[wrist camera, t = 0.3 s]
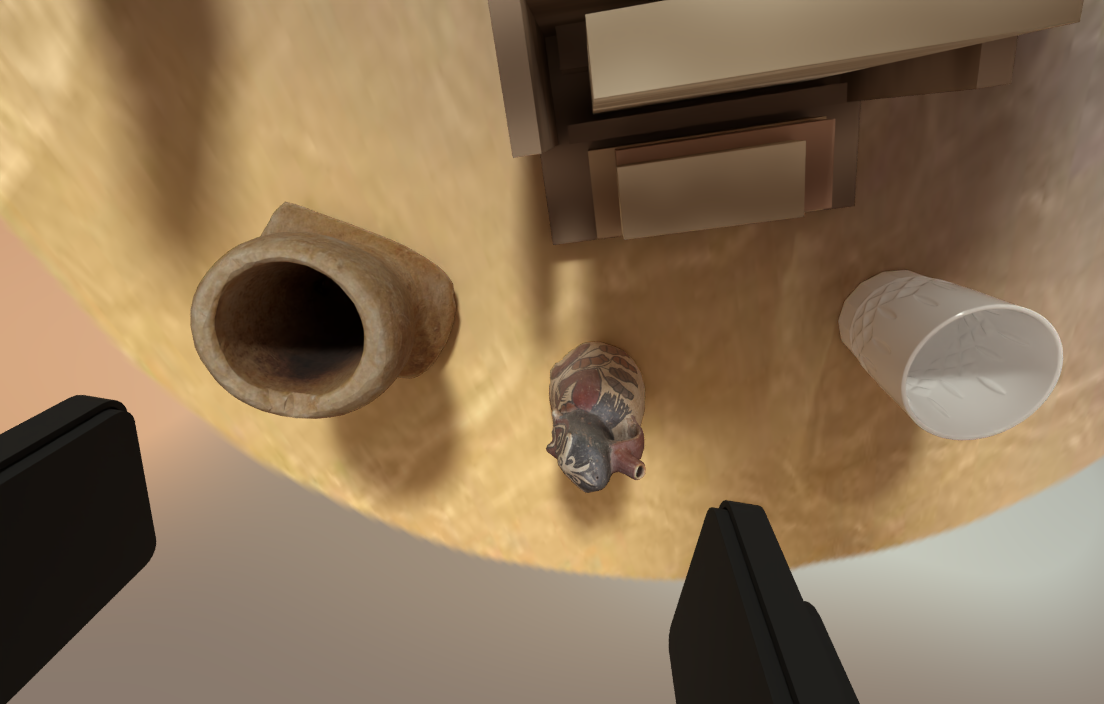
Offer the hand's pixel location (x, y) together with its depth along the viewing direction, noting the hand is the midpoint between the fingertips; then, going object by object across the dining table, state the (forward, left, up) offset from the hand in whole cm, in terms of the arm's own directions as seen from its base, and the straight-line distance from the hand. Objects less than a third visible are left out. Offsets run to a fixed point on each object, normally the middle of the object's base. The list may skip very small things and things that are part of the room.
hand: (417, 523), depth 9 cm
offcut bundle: (-6, +7, -29) cm, 31 cm away
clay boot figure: (+9, -11, -31) cm, 34 cm away
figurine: (+10, +8, -31) cm, 34 cm away
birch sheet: (-11, +5, -29) cm, 32 cm away
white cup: (-3, +24, -31) cm, 39 cm away
